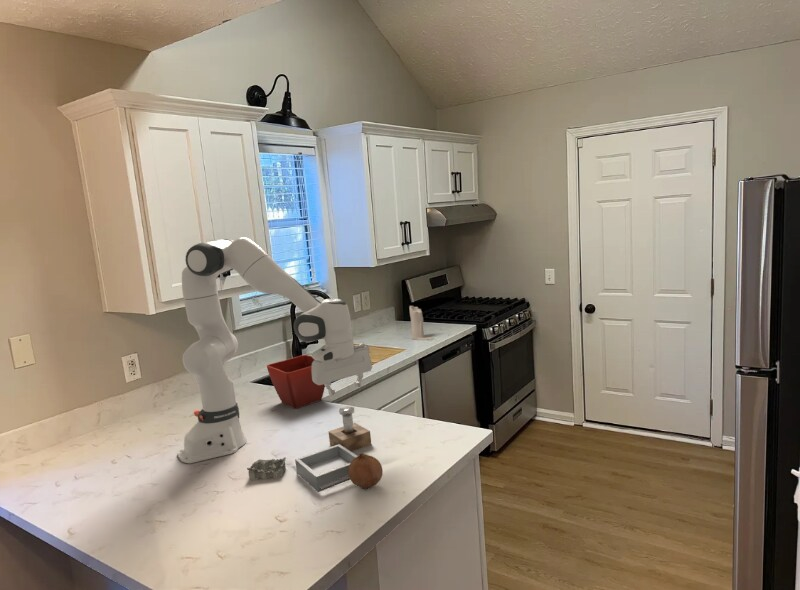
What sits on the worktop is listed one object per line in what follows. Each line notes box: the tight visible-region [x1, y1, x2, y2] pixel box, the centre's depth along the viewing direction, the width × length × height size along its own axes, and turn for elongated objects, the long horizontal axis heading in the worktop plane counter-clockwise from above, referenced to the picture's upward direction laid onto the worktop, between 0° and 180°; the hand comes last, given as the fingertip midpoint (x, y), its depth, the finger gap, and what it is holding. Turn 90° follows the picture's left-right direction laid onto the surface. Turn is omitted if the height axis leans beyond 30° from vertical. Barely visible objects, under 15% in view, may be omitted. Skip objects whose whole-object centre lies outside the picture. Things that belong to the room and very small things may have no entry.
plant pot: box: [266, 354, 326, 409], centre depth 226 cm, size 19×19×17 cm
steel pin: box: [338, 406, 355, 435], centre depth 176 cm, size 5×5×12 cm
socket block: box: [328, 422, 372, 453], centre depth 176 cm, size 10×10×6 cm
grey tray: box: [294, 444, 358, 493], centre depth 160 cm, size 15×15×4 cm
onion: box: [348, 452, 384, 490], centre depth 150 cm, size 10×9×10 cm
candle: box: [409, 305, 435, 341], centre depth 319 cm, size 7×14×20 cm, turn 59°
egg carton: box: [246, 457, 287, 481], centre depth 164 cm, size 11×8×4 cm
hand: (345, 391), depth 174 cm, fingers open, 8 cm apart
